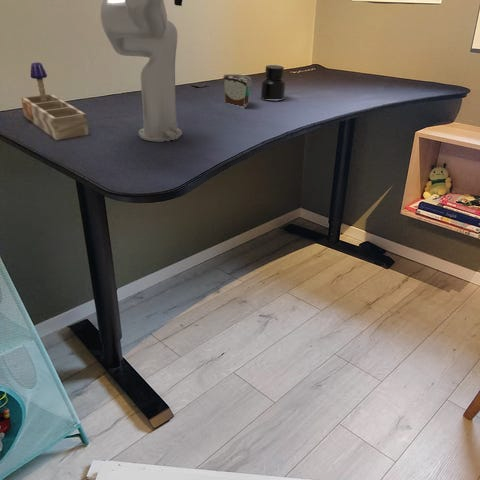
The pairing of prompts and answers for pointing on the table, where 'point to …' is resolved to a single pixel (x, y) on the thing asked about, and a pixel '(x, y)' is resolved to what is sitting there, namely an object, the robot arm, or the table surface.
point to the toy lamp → (39, 78)
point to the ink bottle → (273, 83)
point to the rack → (55, 116)
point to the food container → (237, 89)
